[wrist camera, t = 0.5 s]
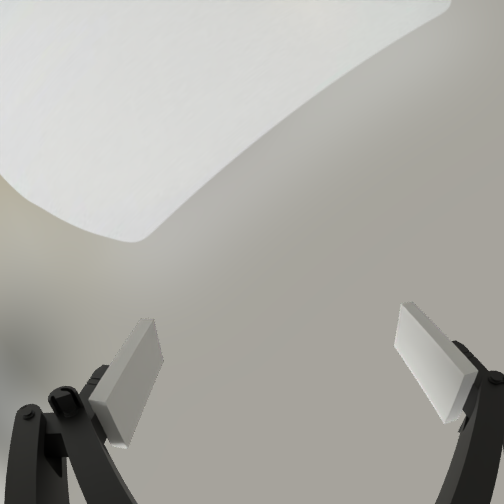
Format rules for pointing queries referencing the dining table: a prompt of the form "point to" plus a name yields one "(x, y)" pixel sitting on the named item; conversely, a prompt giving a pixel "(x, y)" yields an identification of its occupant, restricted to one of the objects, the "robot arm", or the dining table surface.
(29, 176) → the dining table surface
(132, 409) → the robot arm
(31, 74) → the dining table surface
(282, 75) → the dining table surface
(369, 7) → the dining table surface
